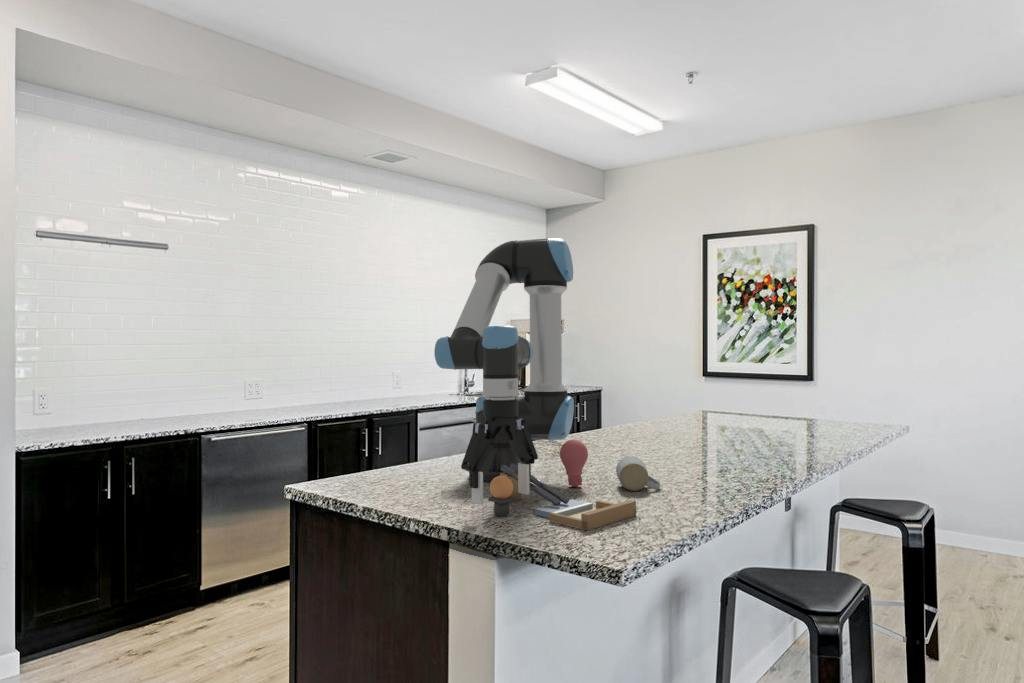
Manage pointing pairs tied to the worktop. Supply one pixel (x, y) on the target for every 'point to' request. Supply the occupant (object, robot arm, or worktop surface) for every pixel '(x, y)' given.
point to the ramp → (533, 486)
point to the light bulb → (574, 460)
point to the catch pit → (597, 515)
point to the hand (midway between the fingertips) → (501, 498)
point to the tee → (501, 505)
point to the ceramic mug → (634, 474)
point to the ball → (501, 487)
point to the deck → (564, 508)
